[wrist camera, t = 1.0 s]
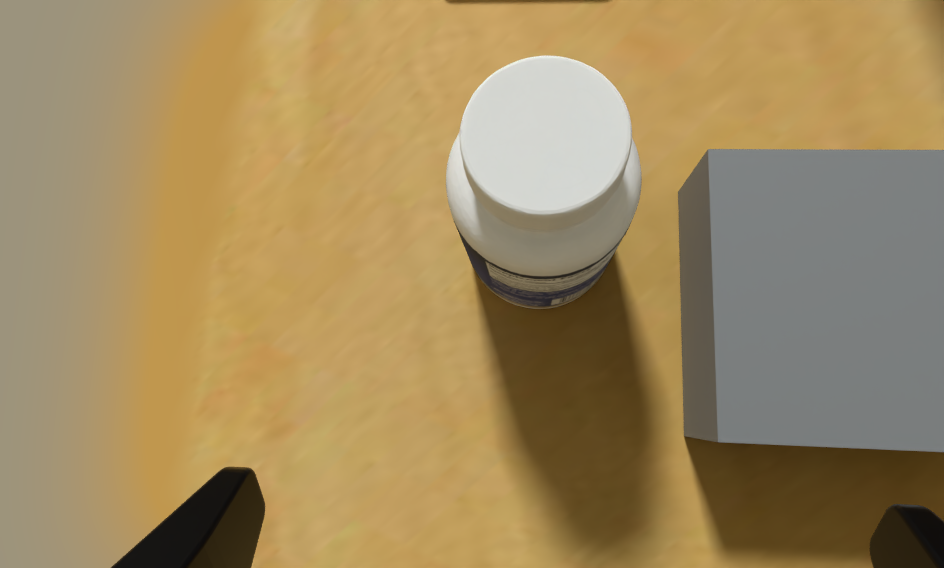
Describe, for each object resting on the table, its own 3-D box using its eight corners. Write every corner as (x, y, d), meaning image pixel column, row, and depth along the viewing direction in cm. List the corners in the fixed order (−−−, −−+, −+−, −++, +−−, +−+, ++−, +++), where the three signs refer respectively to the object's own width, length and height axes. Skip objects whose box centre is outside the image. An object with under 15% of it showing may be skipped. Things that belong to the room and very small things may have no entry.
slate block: (957, 447, 21) (1054, 456, 17) (683, 436, 22) (718, 442, 18) (930, 193, 23) (1013, 150, 19) (678, 191, 24) (708, 149, 20)
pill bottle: (476, 168, 25) (445, 16, 15) (615, 180, 24) (674, 31, 15) (459, 303, 24) (412, 232, 14) (603, 319, 23) (657, 257, 14)
